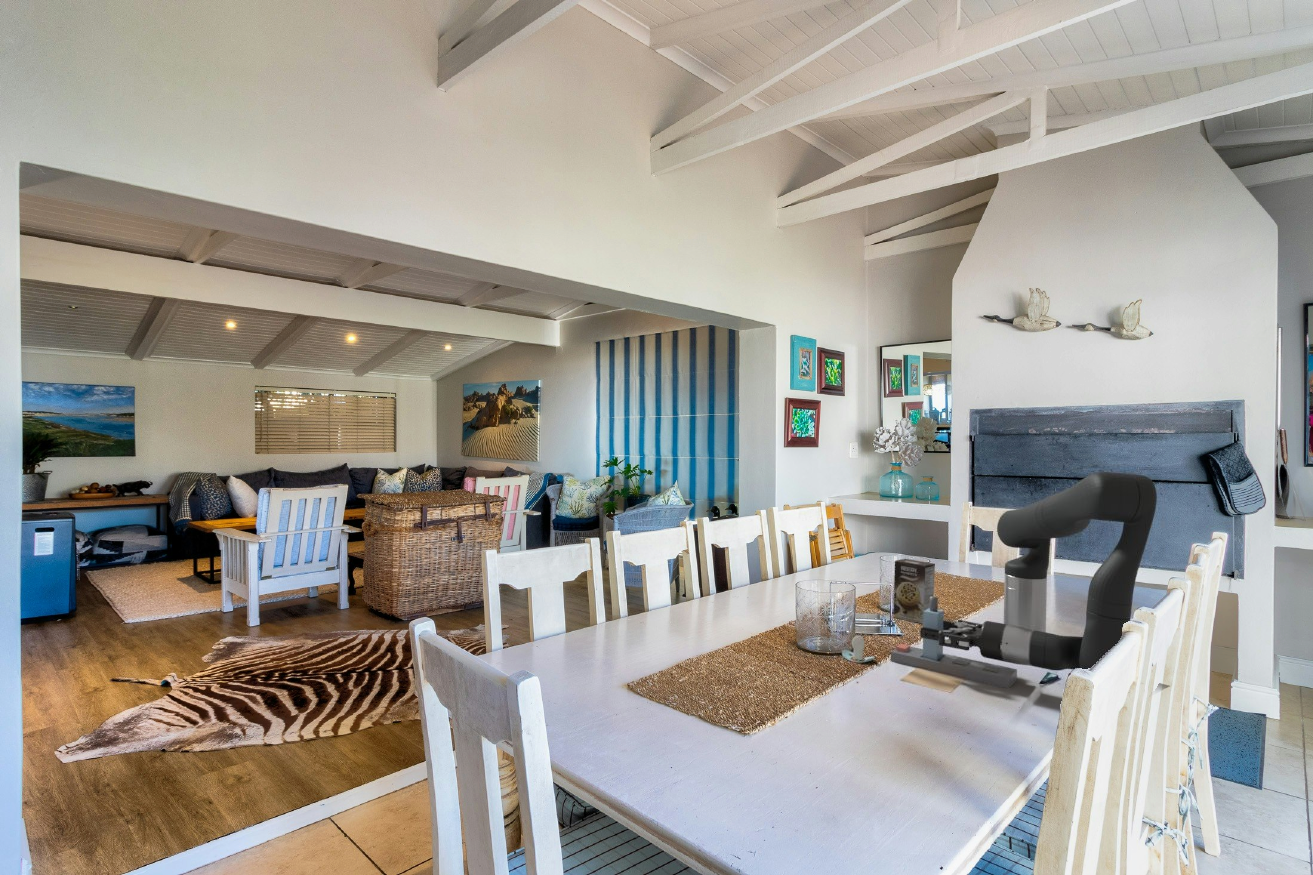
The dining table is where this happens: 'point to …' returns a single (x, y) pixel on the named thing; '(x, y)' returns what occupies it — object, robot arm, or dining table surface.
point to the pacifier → (857, 650)
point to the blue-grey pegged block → (934, 621)
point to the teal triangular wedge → (1048, 678)
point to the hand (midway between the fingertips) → (927, 627)
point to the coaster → (933, 680)
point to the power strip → (956, 666)
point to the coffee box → (912, 589)
